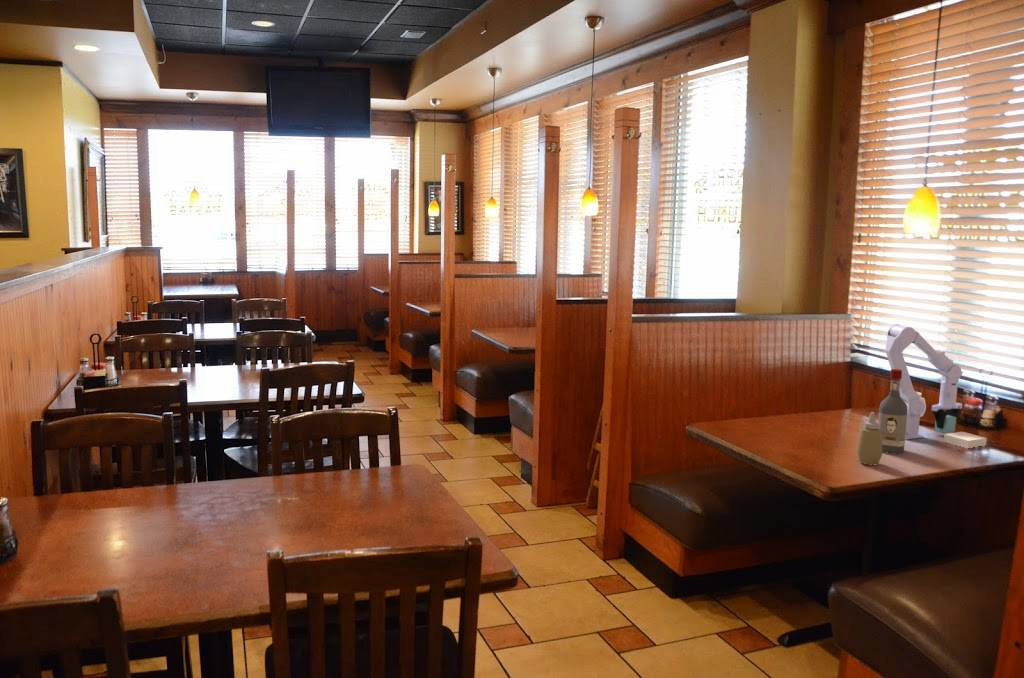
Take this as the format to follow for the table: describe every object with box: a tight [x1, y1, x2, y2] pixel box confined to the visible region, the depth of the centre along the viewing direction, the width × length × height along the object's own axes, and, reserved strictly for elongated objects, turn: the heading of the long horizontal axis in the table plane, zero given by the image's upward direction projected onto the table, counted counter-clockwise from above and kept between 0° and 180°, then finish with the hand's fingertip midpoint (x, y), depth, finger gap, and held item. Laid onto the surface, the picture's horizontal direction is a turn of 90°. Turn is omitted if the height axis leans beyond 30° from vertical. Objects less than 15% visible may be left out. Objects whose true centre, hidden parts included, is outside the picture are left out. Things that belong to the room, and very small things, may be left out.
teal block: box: [934, 415, 957, 434], centre depth 313 cm, size 5×5×6 cm
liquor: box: [877, 368, 908, 455], centre depth 291 cm, size 9×9×30 cm
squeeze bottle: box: [856, 411, 883, 466], centre depth 276 cm, size 8×8×18 cm
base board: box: [943, 431, 988, 450], centre depth 303 cm, size 10×10×3 cm
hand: (944, 427), depth 314 cm, fingers closed on teal block, 5 cm apart
